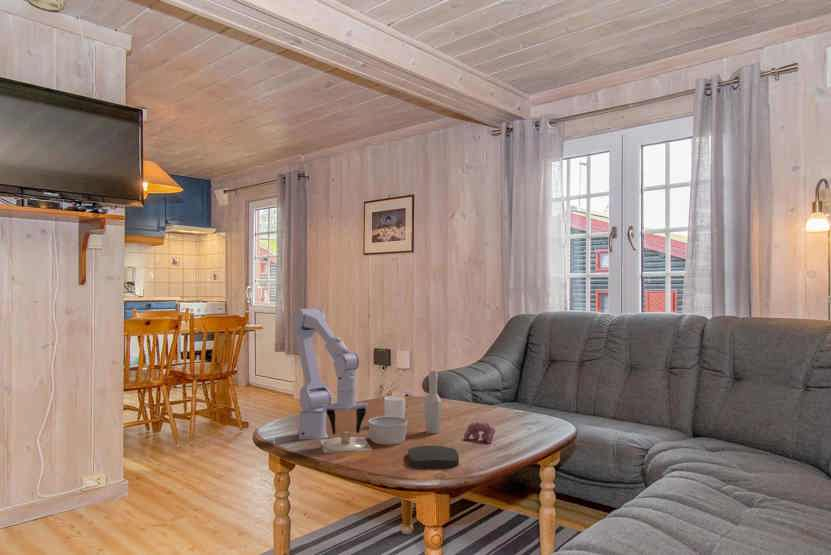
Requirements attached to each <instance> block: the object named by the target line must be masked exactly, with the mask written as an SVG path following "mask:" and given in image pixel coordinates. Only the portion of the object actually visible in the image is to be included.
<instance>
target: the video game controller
mask: <svg viewBox="0 0 831 555" xmlns="http://www.w3.org/2000/svg"><path fill="white" fill-rule="evenodd" d="M479 432H482V433H481V435H480V433H479ZM495 433H496V429H495V428H494V427H493V426H492V425H491V424H489V423H486V422H481V421H478V422H471V423H470V424H469V425H468V426H467V428H466V430H465V433H464V436H463V439H464V441H468V440H469V439H470V438H471V436H472V438H473V439H475V440H478V439H480V437H481V439H482V440H483V441H484V442H487V445H489V444H490V443H492V442H493V439H494V436H495Z"/></svg>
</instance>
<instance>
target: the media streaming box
mask: <svg viewBox="0 0 831 555" xmlns="http://www.w3.org/2000/svg"><path fill="white" fill-rule="evenodd" d="M407 451H408V452H407V459H408V464H409V466H411V467H413V466H414V467H413V468H416V467H419V468H418V469H446V468H447V469H450V468H451V467H452V468H456V467H458V466H459V464H460V462H459V461H460V457H459V454H458V451H457V449H456V448H452V447H448V446H443V445H421V446H414V447H410V448H408V450H407ZM455 466H456V467H455Z"/></svg>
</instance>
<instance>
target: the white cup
mask: <svg viewBox="0 0 831 555" xmlns="http://www.w3.org/2000/svg"><path fill="white" fill-rule="evenodd" d="M383 399H384V416H395V417H401V418H405V413H406V397H405V396H401V395H400V396H399V395H390V396H385V397H384V398H383Z"/></svg>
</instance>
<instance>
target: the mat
mask: <svg viewBox="0 0 831 555" xmlns="http://www.w3.org/2000/svg"><path fill="white" fill-rule="evenodd" d="M358 438H362V439H365V440H366V441H367V446H366V447H365V448H363V449H360V450H355V451H354V452H359V451H360V452H362V451H373V448H372V447H371V445H370V444H369V443H368V440H367V439H366V437H365V436H364V437H363V436H361V437H358ZM328 439H329V438H323V439H319V441H320V445H321V448H322V451H323V453H324V454H328V453H329V454H330V453H331V454H332V453H342V452H343V453H345V452H346V453H347V452H348V453H349V451H333V450H328V449H326V448H324V442H325V441H326V440H328Z"/></svg>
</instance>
